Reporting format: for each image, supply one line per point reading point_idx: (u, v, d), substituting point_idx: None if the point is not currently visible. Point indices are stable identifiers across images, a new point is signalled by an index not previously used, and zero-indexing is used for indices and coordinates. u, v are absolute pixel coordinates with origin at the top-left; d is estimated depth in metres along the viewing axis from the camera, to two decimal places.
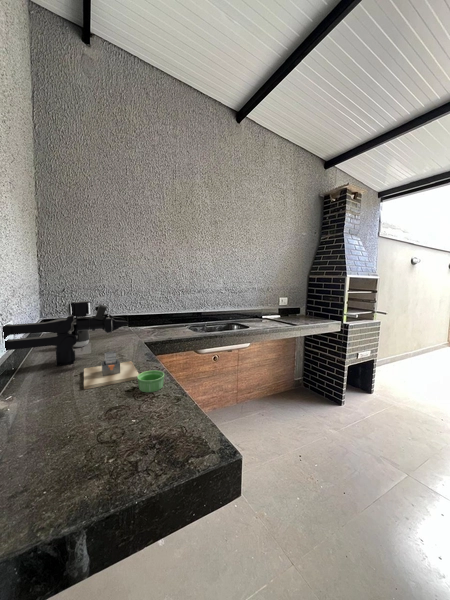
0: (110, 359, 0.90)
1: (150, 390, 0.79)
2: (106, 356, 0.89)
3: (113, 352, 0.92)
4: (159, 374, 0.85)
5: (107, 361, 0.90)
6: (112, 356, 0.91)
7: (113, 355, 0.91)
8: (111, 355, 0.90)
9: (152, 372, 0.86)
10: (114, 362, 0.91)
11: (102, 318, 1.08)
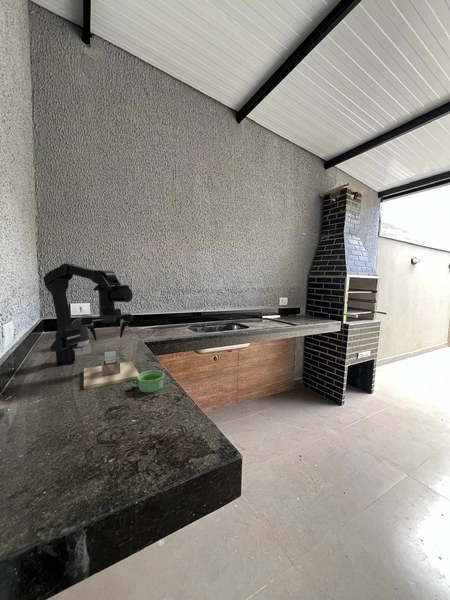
0: (110, 359, 0.90)
1: (150, 390, 0.79)
2: (106, 356, 0.89)
3: (113, 352, 0.92)
4: (159, 374, 0.85)
5: (107, 361, 0.90)
6: (112, 356, 0.91)
7: (113, 355, 0.91)
8: (111, 355, 0.90)
9: (152, 372, 0.86)
10: (114, 362, 0.91)
11: None
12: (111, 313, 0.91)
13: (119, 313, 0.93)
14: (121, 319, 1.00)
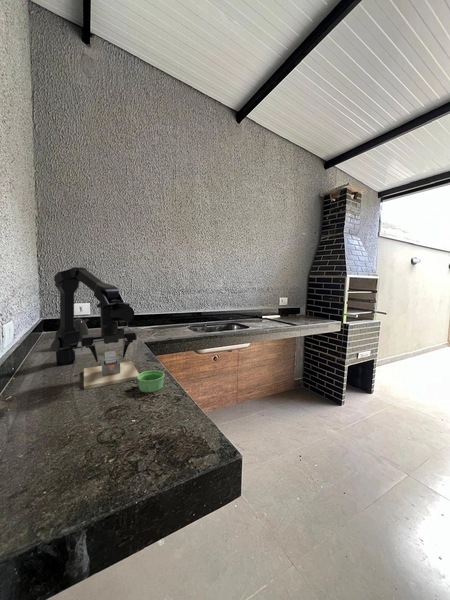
0: (110, 359, 0.90)
1: (150, 390, 0.79)
2: (106, 356, 0.89)
3: (113, 352, 0.92)
4: (159, 374, 0.85)
5: (107, 361, 0.90)
6: (112, 356, 0.91)
7: (113, 355, 0.91)
8: (111, 355, 0.90)
9: (152, 372, 0.86)
10: (114, 362, 0.91)
11: (101, 335, 0.87)
12: (113, 333, 0.85)
13: (122, 333, 0.86)
14: (124, 338, 0.93)
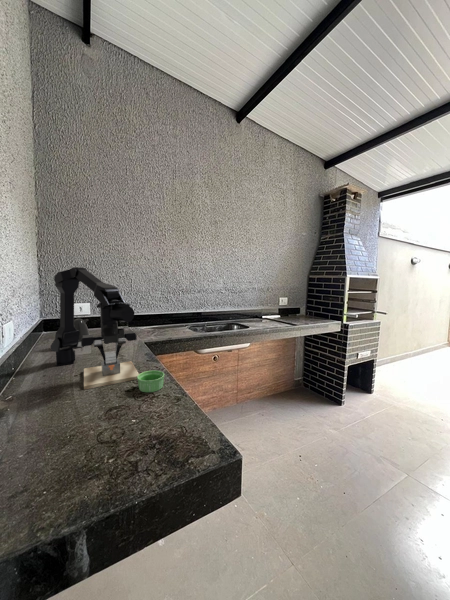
0: (110, 359, 0.90)
1: (150, 390, 0.79)
2: (106, 356, 0.89)
3: (113, 352, 0.92)
4: (159, 374, 0.85)
5: (107, 361, 0.90)
6: (112, 356, 0.91)
7: (113, 355, 0.91)
8: (111, 355, 0.90)
9: (152, 372, 0.86)
10: (114, 362, 0.91)
11: (101, 335, 0.87)
12: (114, 333, 0.85)
13: (122, 333, 0.86)
14: None
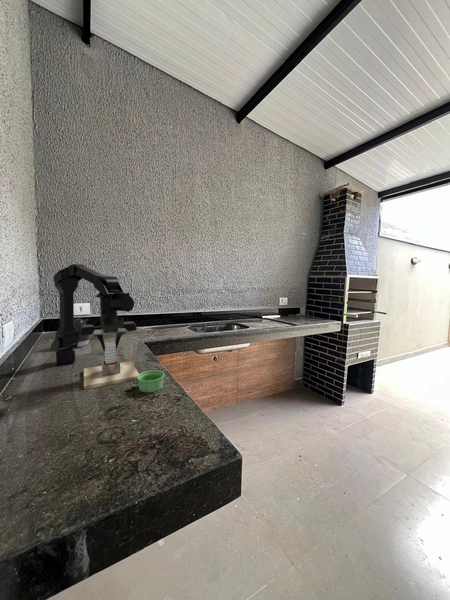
0: (110, 349, 0.90)
1: (150, 390, 0.79)
2: (106, 346, 0.89)
3: (113, 342, 0.92)
4: (159, 374, 0.85)
5: (107, 351, 0.89)
6: (112, 346, 0.90)
7: (113, 345, 0.90)
8: (111, 345, 0.90)
9: (152, 372, 0.86)
10: (114, 352, 0.91)
11: (101, 325, 0.87)
12: (113, 323, 0.85)
13: (122, 323, 0.86)
14: None
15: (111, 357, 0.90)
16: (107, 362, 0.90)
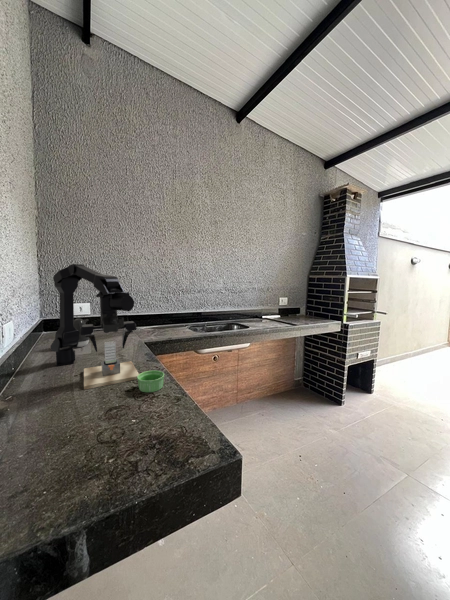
0: (110, 349, 0.90)
1: (150, 390, 0.79)
2: (106, 346, 0.89)
3: (113, 342, 0.92)
4: (159, 374, 0.85)
5: (107, 351, 0.89)
6: (112, 346, 0.90)
7: (113, 345, 0.90)
8: (111, 345, 0.90)
9: (152, 372, 0.86)
10: (114, 352, 0.91)
11: (101, 324, 0.87)
12: (113, 322, 0.85)
13: (122, 322, 0.86)
14: (124, 328, 0.93)
15: (111, 357, 0.90)
16: (107, 362, 0.90)
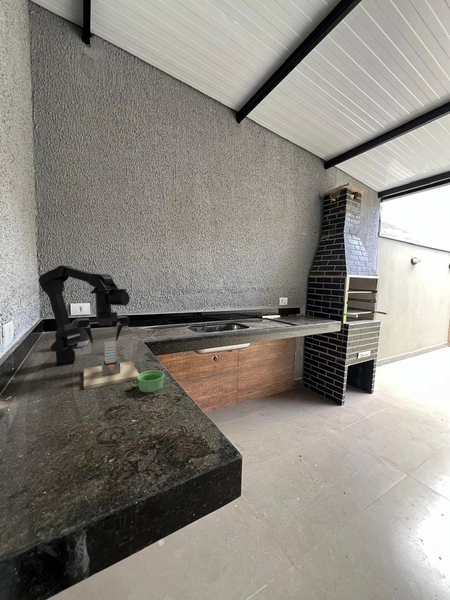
0: (110, 349, 0.90)
1: (150, 390, 0.79)
2: (106, 346, 0.89)
3: (113, 342, 0.92)
4: (159, 374, 0.85)
5: (107, 351, 0.89)
6: (112, 346, 0.90)
7: (113, 345, 0.90)
8: (111, 345, 0.90)
9: (152, 372, 0.86)
10: (114, 352, 0.91)
11: (96, 318, 0.95)
12: (107, 316, 0.93)
13: (115, 316, 0.94)
14: (117, 322, 1.01)
15: (111, 357, 0.90)
16: (107, 362, 0.90)
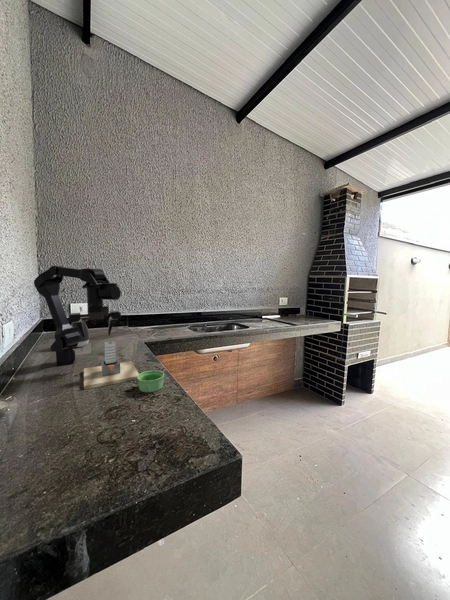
0: (110, 349, 0.90)
1: (150, 390, 0.79)
2: (106, 346, 0.89)
3: (113, 342, 0.92)
4: (159, 374, 0.85)
5: (107, 351, 0.89)
6: (112, 346, 0.90)
7: (113, 345, 0.90)
8: (111, 345, 0.90)
9: (152, 372, 0.86)
10: (114, 352, 0.91)
11: None
12: (98, 310, 0.93)
13: (106, 311, 0.94)
14: None
15: (111, 357, 0.90)
16: (107, 362, 0.90)
